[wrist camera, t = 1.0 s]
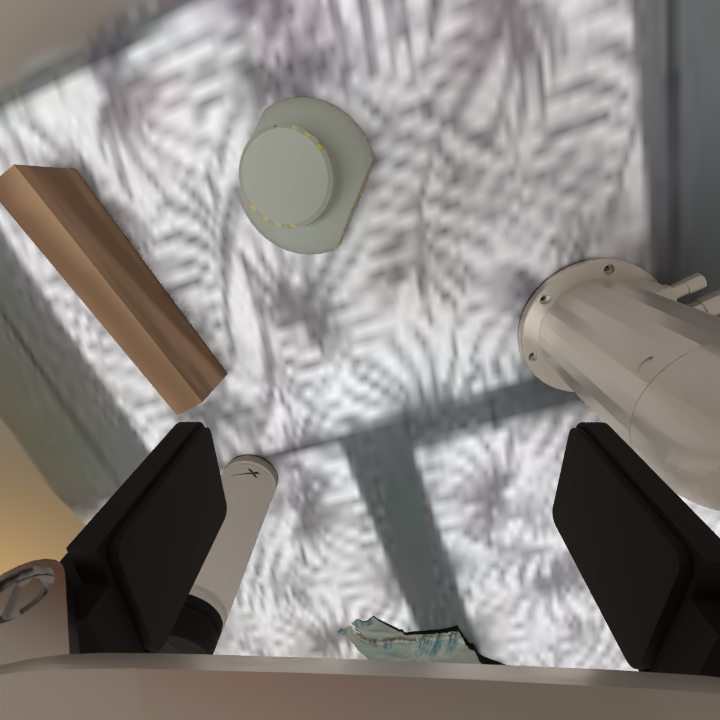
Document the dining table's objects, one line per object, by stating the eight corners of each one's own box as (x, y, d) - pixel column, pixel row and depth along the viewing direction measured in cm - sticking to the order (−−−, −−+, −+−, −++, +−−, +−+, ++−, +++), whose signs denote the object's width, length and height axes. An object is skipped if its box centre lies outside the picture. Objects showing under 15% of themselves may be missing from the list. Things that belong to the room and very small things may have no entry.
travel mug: (255, 443, 44) (160, 624, 25) (288, 484, 46) (223, 679, 27) (213, 464, 45) (95, 649, 27) (247, 503, 47) (160, 699, 29)
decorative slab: (362, 709, 65) (361, 724, 63) (333, 614, 55) (331, 628, 54) (523, 705, 61) (527, 721, 60) (521, 604, 52) (526, 619, 50)
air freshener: (333, 263, 35) (315, 287, 26) (248, 223, 34) (198, 234, 25) (384, 136, 31) (384, 112, 22) (289, 88, 30) (246, 42, 21)
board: (75, 169, 33) (14, 164, 28) (227, 373, 40) (202, 402, 35) (51, 187, 34) (-13, 186, 29) (205, 385, 41) (177, 415, 36)
